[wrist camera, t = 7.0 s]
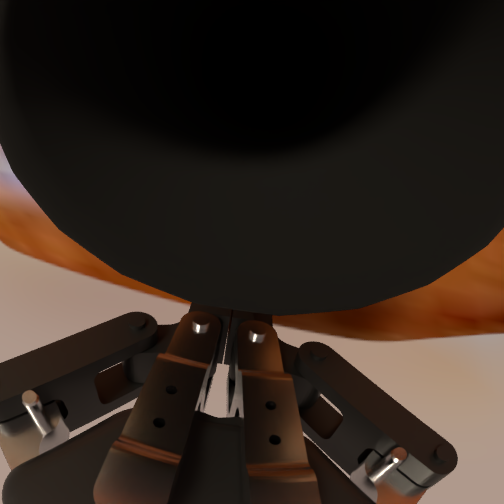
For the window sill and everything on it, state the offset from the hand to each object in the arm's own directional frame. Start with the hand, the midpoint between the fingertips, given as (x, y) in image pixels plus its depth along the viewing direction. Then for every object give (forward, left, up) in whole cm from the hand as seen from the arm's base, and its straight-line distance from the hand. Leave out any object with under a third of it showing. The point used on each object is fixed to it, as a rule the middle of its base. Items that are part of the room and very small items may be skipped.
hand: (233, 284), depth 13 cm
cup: (0, -9, -4) cm, 9 cm away
